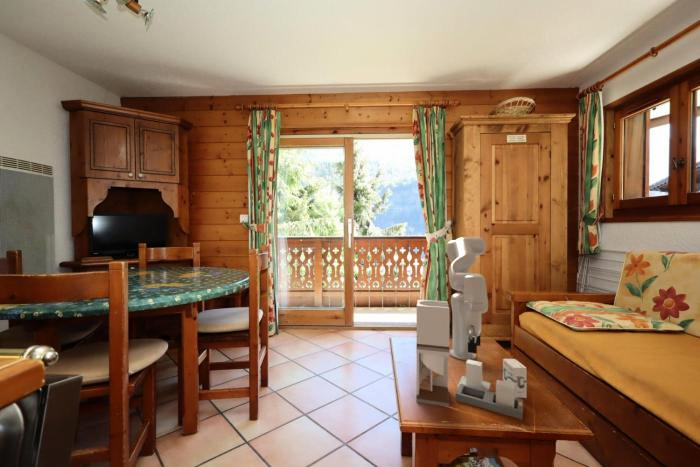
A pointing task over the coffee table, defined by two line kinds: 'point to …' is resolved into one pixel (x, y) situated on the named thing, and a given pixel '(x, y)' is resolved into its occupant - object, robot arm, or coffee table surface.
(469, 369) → the plug
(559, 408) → the coffee table surface
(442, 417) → the coffee table surface
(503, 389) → the off-white rectangular block
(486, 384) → the mat
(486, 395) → the power strip
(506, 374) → the ink box
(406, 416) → the coffee table surface
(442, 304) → the display case
